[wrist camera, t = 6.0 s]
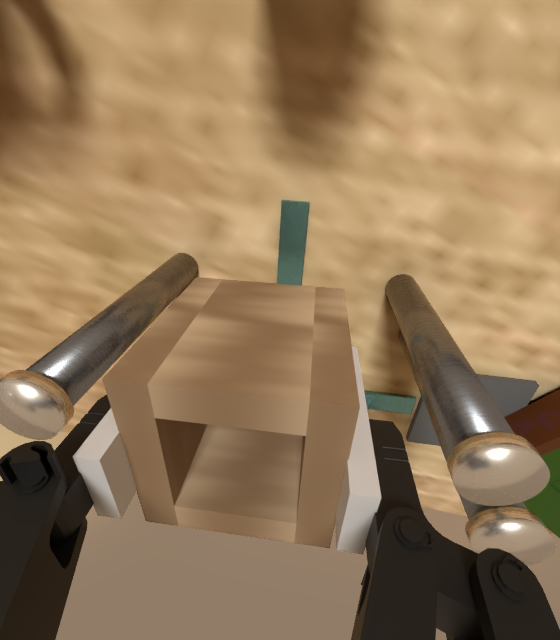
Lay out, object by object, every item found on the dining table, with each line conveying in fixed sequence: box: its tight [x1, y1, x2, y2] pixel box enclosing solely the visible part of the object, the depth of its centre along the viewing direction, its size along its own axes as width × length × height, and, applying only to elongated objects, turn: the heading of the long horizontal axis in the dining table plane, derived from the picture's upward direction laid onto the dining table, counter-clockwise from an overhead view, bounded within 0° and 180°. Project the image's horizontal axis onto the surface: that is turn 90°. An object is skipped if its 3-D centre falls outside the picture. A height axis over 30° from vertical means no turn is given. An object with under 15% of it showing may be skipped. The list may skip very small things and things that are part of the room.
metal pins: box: [0, 200, 555, 566], centre depth 23 cm, size 24×28×17 cm
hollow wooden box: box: [103, 277, 360, 548], centre depth 13 cm, size 6×6×7 cm
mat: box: [406, 374, 539, 446], centre depth 31 cm, size 9×9×1 cm
